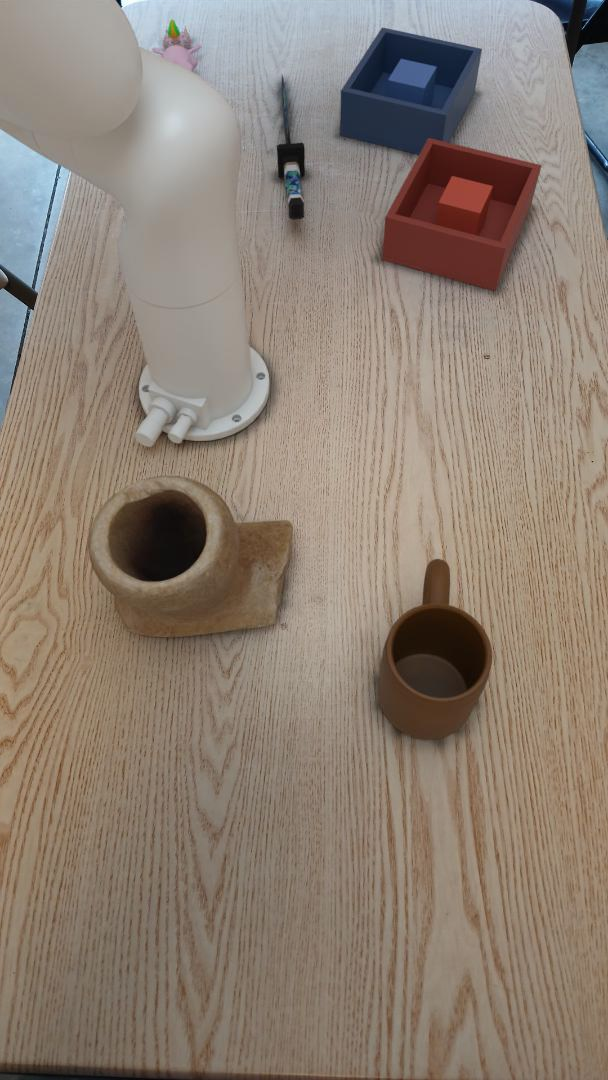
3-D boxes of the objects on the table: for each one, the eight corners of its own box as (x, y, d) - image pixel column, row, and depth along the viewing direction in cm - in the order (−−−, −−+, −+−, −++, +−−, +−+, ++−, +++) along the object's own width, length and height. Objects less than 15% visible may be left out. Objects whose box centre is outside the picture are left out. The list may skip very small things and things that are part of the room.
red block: (473, 247, 89) (480, 213, 85) (433, 237, 90) (438, 202, 86) (485, 221, 91) (493, 185, 87) (446, 211, 92) (451, 175, 88)
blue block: (420, 124, 99) (424, 88, 96) (385, 115, 100) (387, 79, 96) (432, 102, 101) (437, 66, 98) (397, 94, 102) (400, 58, 98)
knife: (305, 241, 89) (305, 203, 85) (277, 241, 89) (275, 203, 85) (303, 97, 107) (302, 60, 103) (279, 97, 107) (278, 61, 103)
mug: (381, 597, 70) (389, 542, 61) (472, 604, 69) (492, 550, 61) (373, 738, 64) (381, 698, 56) (473, 747, 63) (496, 708, 55)
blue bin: (440, 159, 97) (446, 115, 92) (339, 135, 100) (340, 90, 95) (474, 93, 103) (482, 48, 98) (379, 72, 106) (382, 26, 101)
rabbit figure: (156, 53, 111) (153, 104, 102) (148, 3, 106) (144, 51, 97) (202, 50, 111) (204, 100, 102) (196, -1, 106) (197, 47, 97)
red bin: (495, 291, 87) (505, 248, 82) (381, 259, 89) (385, 216, 84) (530, 209, 93) (541, 164, 88) (422, 181, 95) (428, 137, 90)
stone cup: (113, 670, 67) (62, 588, 54) (120, 541, 73) (76, 440, 60) (300, 658, 67) (295, 574, 54) (293, 531, 73) (286, 427, 60)
